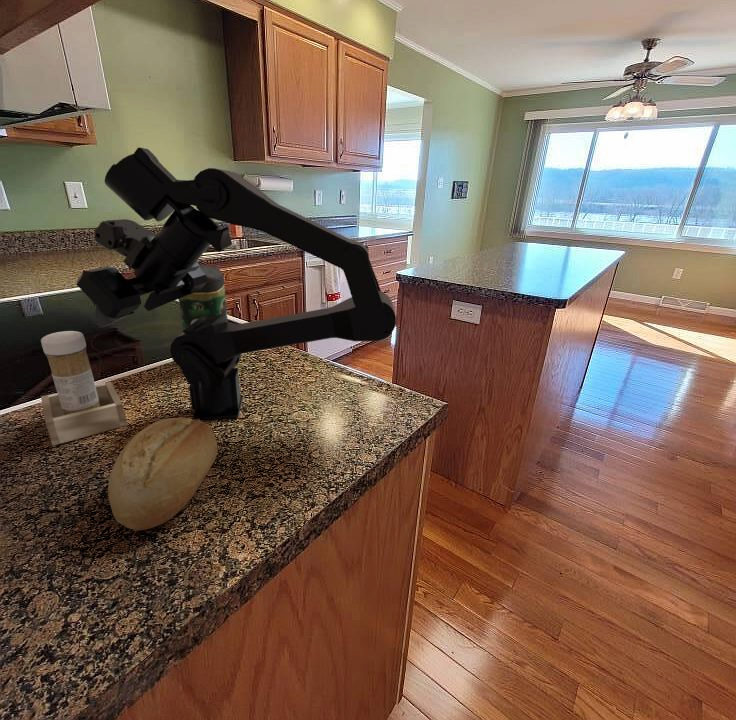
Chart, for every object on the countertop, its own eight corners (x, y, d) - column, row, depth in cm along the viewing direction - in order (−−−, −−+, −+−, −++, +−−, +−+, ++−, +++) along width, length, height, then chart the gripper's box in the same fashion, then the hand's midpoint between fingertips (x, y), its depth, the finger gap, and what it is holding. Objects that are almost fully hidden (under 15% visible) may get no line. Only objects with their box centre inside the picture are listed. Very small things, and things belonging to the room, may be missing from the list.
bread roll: (234, 450, 53) (229, 398, 50) (190, 540, 39) (179, 476, 36) (161, 448, 53) (152, 395, 50) (91, 538, 39) (72, 473, 36)
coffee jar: (195, 351, 84) (184, 262, 76) (234, 351, 85) (226, 263, 77) (181, 370, 75) (166, 271, 68) (224, 370, 76) (215, 272, 69)
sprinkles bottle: (98, 411, 60) (77, 327, 55) (109, 423, 57) (88, 336, 52) (62, 422, 57) (35, 334, 51) (71, 436, 54) (45, 344, 49)
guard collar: (115, 401, 63) (110, 381, 62) (127, 425, 57) (122, 403, 56) (47, 417, 58) (40, 396, 56) (52, 445, 52) (45, 422, 50)
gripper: (181, 198, 61) (132, 265, 67) (69, 199, 44) (19, 287, 50) (231, 255, 62) (179, 315, 69) (143, 276, 45) (85, 353, 52)
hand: (124, 316), depth 60 cm, fingers open, 9 cm apart
